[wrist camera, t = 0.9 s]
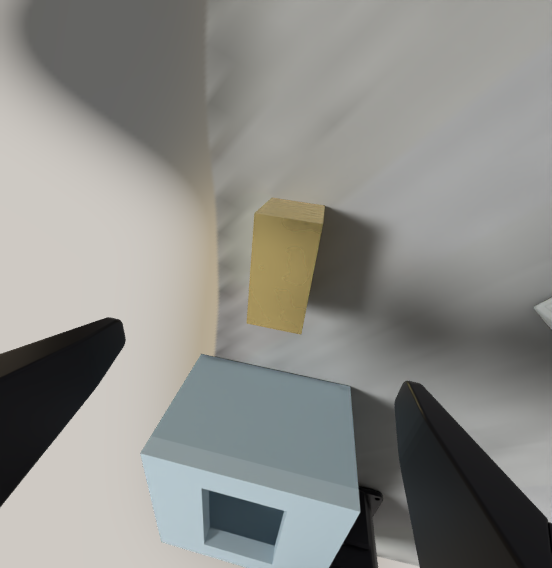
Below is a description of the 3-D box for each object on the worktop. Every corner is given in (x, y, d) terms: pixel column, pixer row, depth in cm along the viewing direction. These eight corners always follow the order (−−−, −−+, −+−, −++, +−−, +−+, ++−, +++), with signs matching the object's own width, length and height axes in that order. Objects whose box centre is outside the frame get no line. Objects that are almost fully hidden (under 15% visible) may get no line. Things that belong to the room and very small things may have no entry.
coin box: (320, 470, 26) (316, 588, 19) (204, 440, 27) (161, 541, 20) (350, 386, 20) (360, 511, 13) (201, 353, 22) (140, 453, 15)
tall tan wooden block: (325, 205, 15) (323, 224, 11) (307, 297, 18) (301, 334, 14) (272, 197, 15) (254, 213, 12) (263, 288, 18) (246, 323, 15)
